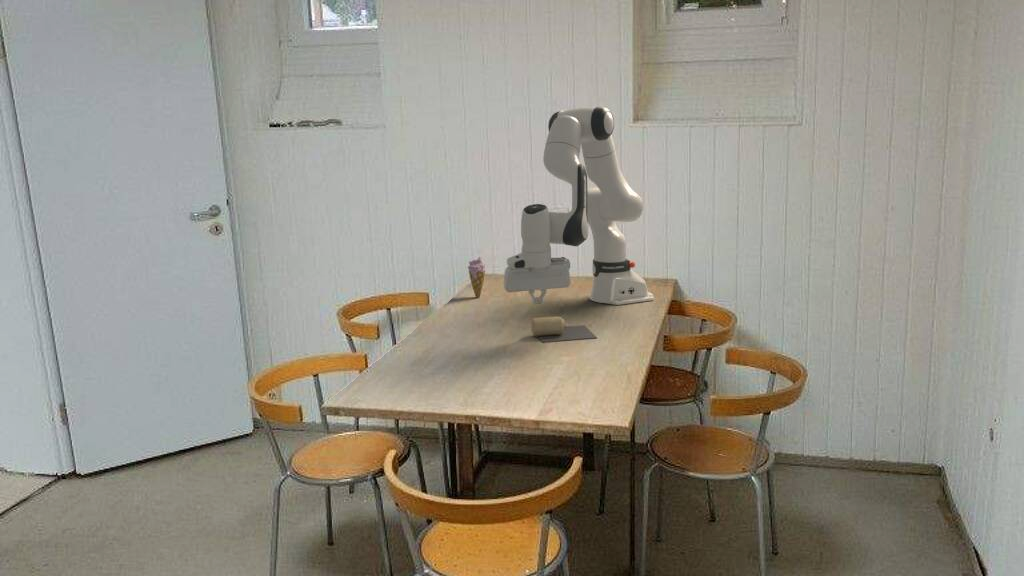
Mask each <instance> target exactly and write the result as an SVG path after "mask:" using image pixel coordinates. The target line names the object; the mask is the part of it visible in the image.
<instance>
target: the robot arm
mask: <svg viewBox="0 0 1024 576" xmlns="http://www.w3.org/2000/svg"><path fill="white" fill-rule="evenodd" d="M614 128H615V120H614V115H613V113H612V112H611V110H610V109H608V108H607V107H603V106H602V107H601V106H596V107H578V108H573V109H568V110H559V111H556V112H554V113H553V114H552V115H551V116H550V119H549V121H548V127H547V129H548V134H547V137H546V142H545V147H544V150H543V151H544V152H543V160H542V161H543V165H544V168H545V169H546V170H547V171H548V172H549V174H551V175H552V176H553V177H556V178H557V179H559V180H562V181H563V182H565V183H568V184H569V185H571V190H572V191H571V210H570V211H569V212H559V211H558V212H556V211H549V208H548V206H547V205H546V204H543V203H542V204H541V203H535V204H529V205H527V206H525V207H524V208H523V209H522V213H521V221H520V237H521V240H522V245H521V252H520V253H518V254H516V255H513V256H511V257H508V258H506V264H507V267H506V268H505V270H504V274H503V275H504V276H503V288H504V290H505V292H507V293H516V292H528V294H529V295H530V297H531V299H532V300H531V301H532V305H540V304H541V305H542V304H544V297H545V296H546V294H547V290H551V289H553V290H554V289H563V288H569V287H570V285H571V276H570V270H571V261H570V259H568V258H567V257H566V256H560V257H552V247H551V244H553V245H565V246H570V247H578V246H581V244H583V243H584V242H585V241H586V240H587V238H588V237H589V227H590V230H591V235H592V240H593V259H592V266H591V267H592V269H591V270H592V286H591V291H590V296H589V300H590V301H593V302H594V303H595V302H596V303H599V304H608V305H615V306H620V305H626V304H628V305H629V304H634V303H644V302H648V301H649V302H651V301H653V300H654V299H655V296H654V294H653V293H651V292H650V291H648V286H647V283H646V281H645V279H644V278H643V277H641V276H640V275H638V274H637V273H636V272H635V271H633V270H632V269H633V268H635V267H636V263H635V262H634V261H631V260H629V259H626V252H627V251H626V249H627V248H626V246H627V243H626V241H627V240H626V237H625V235H624V234H623V232H622V231H620V230H619V228H618V226H617V223H629V222H630V223H631V222H635V221H638V219H639V218H640V217H641V216H642V214H643V210H644V203H643V199H642V198H641V197H642V196H640V194H638V193H636V192H635V191H634V190H633V189H632V188H631V186H630V184H628V182H627V180H626V179H625V177H624V175H623V173H622V171H621V168H620V164H619V161H618V155H617V151H616V147H615V142H614V138H613V135H612V134H613V132H614ZM581 152H582V157H583V162H584V165H583V164H581V161H580V153H581ZM588 179H589V181H591V183H593V184H595V186H596V187H590V188H588ZM616 222H617V223H616ZM631 268H632V269H631ZM539 290H540V292H541V293H540V295H539V296H537V297H536V296H535V295H534V294H535V291H539Z"/></svg>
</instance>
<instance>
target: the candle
mask: <svg viewBox="0 0 1024 576" xmlns="http://www.w3.org/2000/svg"><path fill="white" fill-rule="evenodd" d="M565 327H567V324H566V322H565V319H564V318H562V317H561V316H545V317H533V318H532V319H531V332H532V336H533V337H537V336H545V335H560V334H562V333H563V331H564V329H565Z"/></svg>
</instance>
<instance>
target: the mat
mask: <svg viewBox="0 0 1024 576" xmlns="http://www.w3.org/2000/svg"><path fill="white" fill-rule="evenodd" d="M536 337H537V338H538V340H540V342H541V343H543V344H544V343H555V342H557V343H558V342H567V341H577V340H578V341H580V340H581V341H582V340H591V339H593V340H594V339H598V336H596V335H595V334H594V333H593V332H592V331H591V330H590V329H589V328H588V327H587V326H586V325H582V324H581V325H568V326H567V325H566V327H565V329H564V331H563V333H562V334H560V335H545V336H536Z"/></svg>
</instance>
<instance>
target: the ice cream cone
mask: <svg viewBox="0 0 1024 576" xmlns="http://www.w3.org/2000/svg"><path fill="white" fill-rule="evenodd" d="M468 263H469V266H467V269H468V274H469V280H470V282H471V286H472V289H473V292H474V295H475V299H480V298H481V295H482V294H481V293H482V291H483V285H484V280H485V275H486V269H485V268H486V267H485V266H486V263H485V262H484V261H483V258H482V257H481V256H479V257H478V258H477V259H473V260H469V262H468Z"/></svg>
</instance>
